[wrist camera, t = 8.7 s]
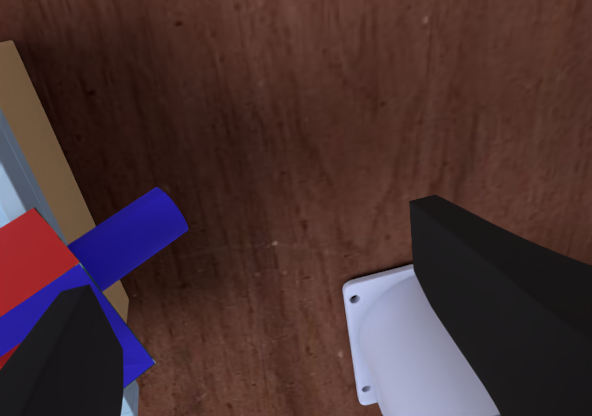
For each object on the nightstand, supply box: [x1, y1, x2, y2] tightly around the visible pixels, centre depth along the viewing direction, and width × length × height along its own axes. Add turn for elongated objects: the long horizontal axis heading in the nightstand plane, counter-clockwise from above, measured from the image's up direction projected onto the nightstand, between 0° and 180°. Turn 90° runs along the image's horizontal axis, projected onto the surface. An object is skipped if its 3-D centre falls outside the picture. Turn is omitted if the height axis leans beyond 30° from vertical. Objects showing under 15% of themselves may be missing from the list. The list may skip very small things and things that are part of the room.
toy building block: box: [0, 187, 188, 388], centre depth 13 cm, size 4×4×8 cm
